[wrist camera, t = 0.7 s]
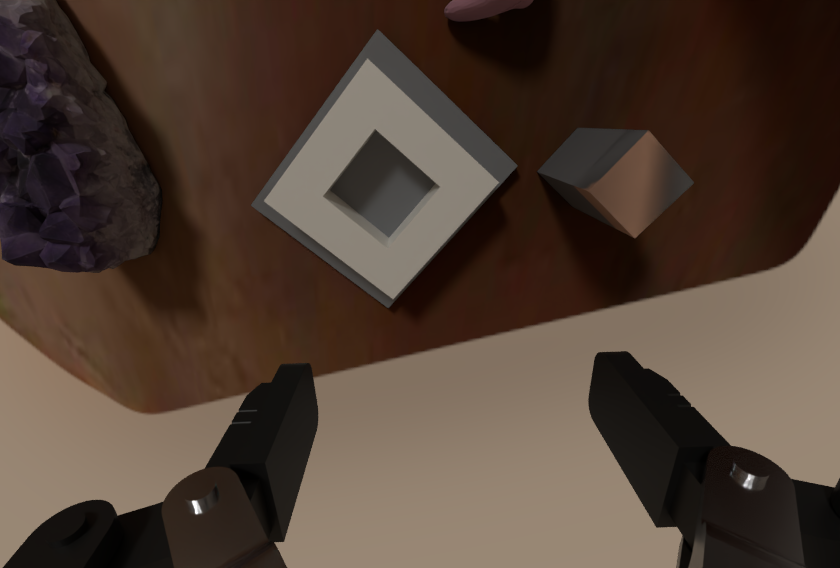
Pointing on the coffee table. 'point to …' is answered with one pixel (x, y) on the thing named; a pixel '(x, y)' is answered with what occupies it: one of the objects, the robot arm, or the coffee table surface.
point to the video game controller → (481, 8)
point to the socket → (383, 174)
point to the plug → (616, 176)
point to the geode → (66, 152)
